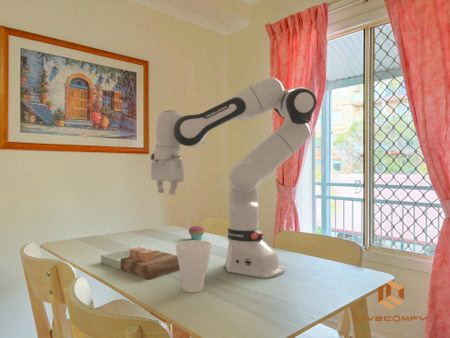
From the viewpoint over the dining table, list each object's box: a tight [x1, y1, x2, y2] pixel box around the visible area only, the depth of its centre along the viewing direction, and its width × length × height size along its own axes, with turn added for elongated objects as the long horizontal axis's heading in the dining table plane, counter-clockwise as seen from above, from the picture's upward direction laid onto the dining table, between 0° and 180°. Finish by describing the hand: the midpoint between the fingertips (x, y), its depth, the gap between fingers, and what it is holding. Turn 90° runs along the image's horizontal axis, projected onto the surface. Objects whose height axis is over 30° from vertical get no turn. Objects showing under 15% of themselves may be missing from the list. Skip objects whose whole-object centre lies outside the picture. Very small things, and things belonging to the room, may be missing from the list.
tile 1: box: [129, 246, 147, 259], centre depth 115 cm, size 4×4×3 cm
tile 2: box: [138, 248, 156, 262], centre depth 112 cm, size 4×4×3 cm
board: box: [120, 250, 180, 280], centre depth 114 cm, size 16×16×4 cm
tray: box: [100, 248, 131, 271], centre depth 123 cm, size 13×16×3 cm
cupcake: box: [188, 217, 206, 241], centre depth 167 cm, size 9×8×12 cm
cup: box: [175, 239, 212, 294], centre depth 95 cm, size 10×10×14 cm
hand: (166, 193), depth 115 cm, fingers open, 8 cm apart
